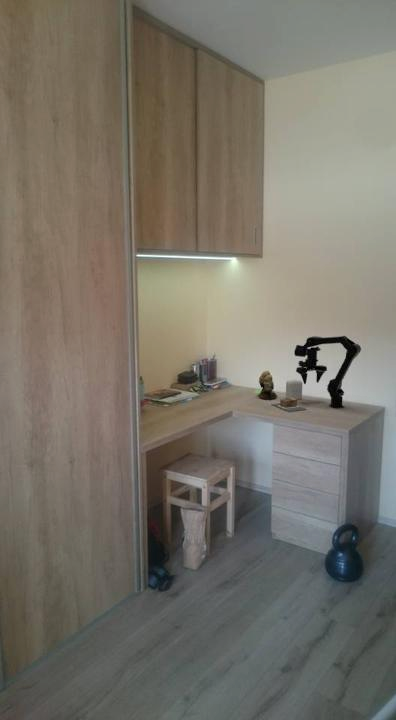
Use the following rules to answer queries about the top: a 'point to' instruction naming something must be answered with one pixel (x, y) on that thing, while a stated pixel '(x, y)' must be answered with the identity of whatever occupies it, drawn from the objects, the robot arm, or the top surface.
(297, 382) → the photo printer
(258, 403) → the top surface
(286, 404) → the walnut card box
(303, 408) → the picture frame
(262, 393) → the bust sculpture
